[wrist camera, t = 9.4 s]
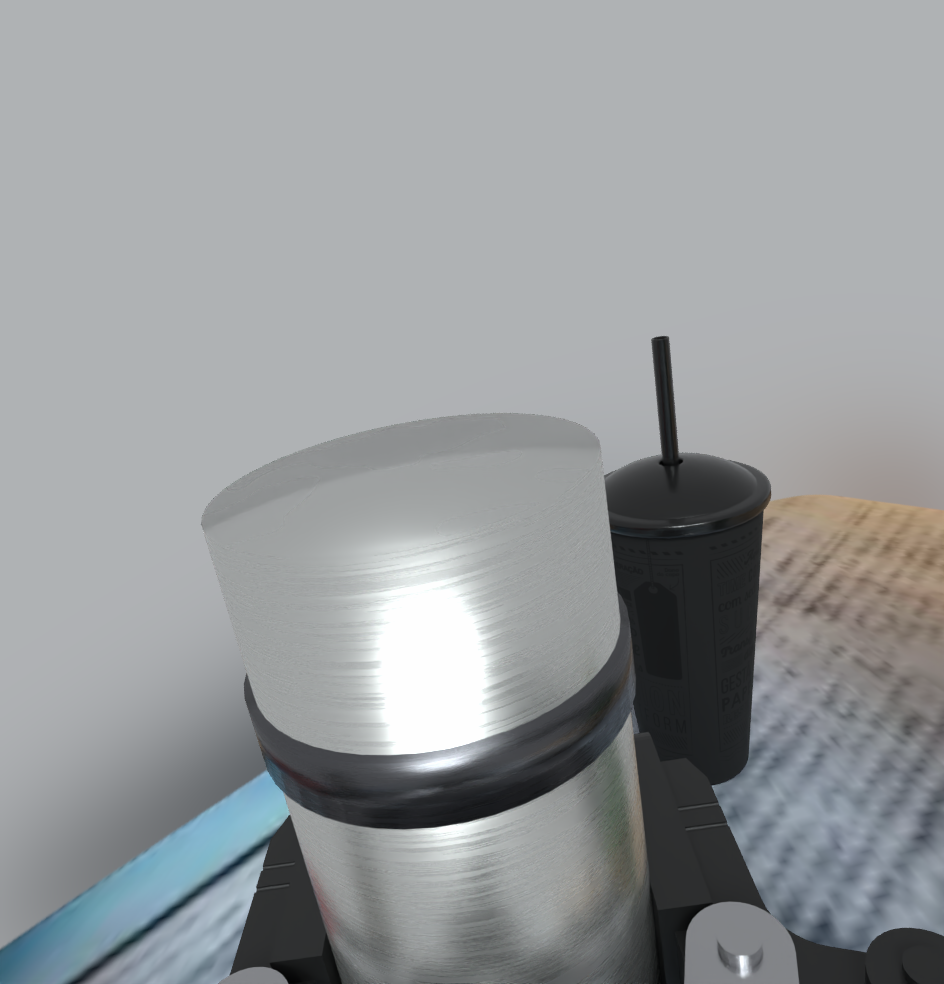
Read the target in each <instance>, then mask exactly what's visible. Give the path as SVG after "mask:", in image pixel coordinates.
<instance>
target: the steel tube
mask: <svg viewBox="0 0 944 984" xmlns="http://www.w3.org/2000/svg"><path fill="white" fill-rule="evenodd" d="M201 525H202V528H203V531H204V535H205V538H206V541H207V545H208V548H209V551H210V554H211V558H212V561H213V564H214V567H215V570H216V574H217V577H218V580H219V583H220V587H221V590H222V593H223V597H224V600H225V603H226V607H227V609H228V613H229V616H230V619H231V623H232V626H233V629H234V633H235V636H236V639H237V642H238V645H239V649H240V652H241V655H242V659H243V662H244V665H245V668H246V672H247V673H246V678H245V682H244V694H245V701H246V703H247V707H248V710H249V713H250V717H251V720H252V723H253V726H254V729H255V732H256V736H257V739H258V742H259V745H260V748H261V752H262V755H263V758H264V761H265V764H266V767H267V771H268V772H269V774H270V776H271V777H272V779H273V780H274V782H275V784H276V785H277V786H278V787H279V788H280V789H281V790H282V791H283V792H284V796H285V799H286V802H287V805H288V809H289V812H290V815H291V818H292V822H293V825H294V828H295V832H296V835H297V838H298V841H299V845H300V848H301V851H302V854H303V858H304V861H305V864H306V867H307V871H308V874H309V877H310V880H311V884H312V887H313V890H314V893H315V897H316V900H317V903H318V907H319V910H320V913H321V916H322V920H323V923H324V926H325V929H326V933H327V936H328V939H329V942H330V946H331V949H332V952H333V955H334V959H335V962H336V965H337V968H338V972H339V975H340V978H341V982H342V984H661V976H660V967H659V959H658V950H657V941H656V933H655V924H654V915H653V906H652V898H651V889H650V880H649V866H648V857H647V848H646V840H645V831H644V822H643V813H642V805H641V796H640V787H639V778H638V770H637V761H636V752H635V743H634V735H633V726H632V717H631V709H632V705H633V701H634V697H635V687H636V677H635V667H634V658H633V649H632V640H631V631H630V622H629V616H628V611H627V607H626V605H625V603H624V601H623V599H622V597H621V595H620V594H619V593H618V591H617V586H616V577H615V569H614V560H613V551H612V542H611V534H610V525H609V516H608V507H607V499H606V490H605V481H604V472H603V464H602V455H601V447H600V443H599V440H598V438H597V437H596V436H595V434H594V433H593V432H591V431H590V430H589V429H587V428H586V427H584V426H582V425H580V424H577V423H574V422H571V421H568V420H565V419H561V418H555V417H550V416H543V415H534V414H518V413H493V414H492V413H491V414H471V415H458V416H450V417H440V418H432V419H426V420H419V421H413V422H407V423H401V424H396V425H391V426H386V427H381V428H377V429H372V430H368V431H364V432H360V433H356V434H352V435H348V436H345V437H341V438H338V439H334V440H331V441H327V442H324V443H321V444H318V445H315V446H312V447H309V448H306V449H303V450H301V451H298V452H295V453H293V454H290V455H288V456H285V457H282V458H280V459H278V460H276V461H273V462H271V463H269V464H266V465H264V466H262V467H260V468H258V469H256V470H254V471H252V472H250V473H249V474H247V475H245V476H243V477H242V478H240V479H238V480H237V481H235V482H234V483H232V484H231V485H230V486H228V487H226V488H225V489H224V490H222V491H221V492H220V493H219V494H218V495H217V496H216V497H215V498H213V500H212V501H211V502H210V503H209V504H208V506H207V507H206V509H205V511H204V513H203V515H202V522H201Z"/></svg>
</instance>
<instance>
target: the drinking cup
mask: <svg viewBox="0 0 944 984" xmlns="http://www.w3.org/2000/svg"><path fill="white" fill-rule="evenodd" d="M651 341H652V352H653V363H654V374H655V384H656V396H657V406H658V417H659V429H660V440H661V451H662V454H661V455H656V456H651V457H647V458H644V459H640V460H637V461H635V462H632V463H630V464H628V465H626V466H624V467H622V468H620V469H618V470H615V471H613V472H611V473H609V474H607V475H604V481H605V490H606V499H607V507H608V516H609V525H610V534H611V542H612V551H613V560H614V569H615V577H616V586H617V591H618V593H619V594H620V595H621V597H622V599H623V601H624V603H625V605H626V607H627V611H628V616H629V622H630V631H631V640H632V649H633V658H634V667H635V677H636V687H635V697H634V701H633V705H634V709H635V714H636V718H637V723H638V727H639V732H640V733H645V732H649V733H650V735H651V738H652V740H653V743H654V746H655V748H656V751H657V754H658V756H659V759H660V762H662V761H669V760H676V759H682V758H686V759H688V760H689V761H690V762H691V763H692V764H693V765H694V766H695V767H696V768H698V769H699V770H700V771H701V772H702V773H703V774H704V775H705V776H707V778H708V780H709V782H710V784H711V785H716V784H720V783H723V782H725V781H728V780H730V779H732V778H733V777H735V776H736V775H737V774H739V773H740V772H741V771H742V769H743V768H744V767H745V765H746V763H747V760H748V754H749V738H750V722H751V706H752V689H753V673H754V657H755V640H756V624H757V608H758V591H759V575H760V559H761V542H762V526H763V510H764V509H765V508H766V507H767V505H768V504H769V501H770V499H771V485H770V482H769V480H768V478H767V477H766V476H765V475H764V474H763V473H762V472H761V471H759V470H757V469H755V468H754V467H751V466H749V465H746V464H743V463H739V462H735V461H731V460H725V459H723V458H719V457H715V456H711V455H706V454H698V453H679V451H678V439H677V427H676V416H675V405H674V404H675V403H674V392H673V380H672V369H671V368H672V367H671V355H670V343H669V337H668V336H660V337H655V338H652V340H651Z"/></svg>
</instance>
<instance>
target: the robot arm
mask: <svg viewBox="0 0 944 984" xmlns="http://www.w3.org/2000/svg"><path fill="white" fill-rule="evenodd" d="M633 735H634V743H635V752H636V761H637V770H638V778H639V787H640V796H641V805H642V813H643V822H644V831H645V840H646V848H647V857H648V866H649V880H650V889H651V898H652V906H653V915H654V924H655V933H656V941H657V950H658V959H659V967H660V976H661V984H944V936H942V935H939V934H937V933H934V932H931V931H927V930H923V929H916V928H899V929H892V930H890V931H887V932H884V933H882V934H881V935H879V936H877V937H876V938H875V939H874V940H873V941H872V943H871V944H870V946H869V948H868V950H867V953H866V952H860V951H854V950H847V949H841V948H835V947H829V946H824V945H820V944H816V943H813V942H811V941H808V940H805V939H803V938H801V937H799V936H797V935H795V934H794V933H792V932H790V931H789V930H787V929H786V928H785V927H784V926H783V925H782V924H781V923H780V922H779V921H778V920H777V919H776V918H775V917H774V916H772V915H771V914H770V912H769V911H768V910H767V908H766V907H765V905H764V903H763V901H762V899H761V897H760V895H759V893H758V890H757V888H756V886H755V884H754V881H753V879H752V877H751V875H750V872H749V870H748V868H747V866H746V863H745V861H744V859H743V856H742V854H741V852H740V850H739V847H738V845H737V843H736V841H735V838H734V836H733V834H732V832H731V829H730V827H729V826H728V825H727V820H726V818H725V816H724V814H723V811H722V809H721V807H720V806H719V804H718V800H717V798H716V796H715V793H714V791H713V789H712V787H711V784H710V782H709V780H708V778H707V776H705V775H704V774H703V773H702V772H701V771H700V770H699V769H698V768H696V767H695V766H694V765H693V764H692V763H691V762H690V761H689V760H688V759H686V758H682V759H676V760H669V761H662V762H660V759H659V756H658V754H657V751H656V748H655V746H654V743H653V740H652V738H651V735H650V733H649V732H645V733H638V734H633ZM256 888H257V892H256V893H254V897H253V900H252V903H251V907H250V910H249V913H248V917H247V920H246V923H245V927H244V930H243V933H242V937H241V940H240V943H239V946H238V950H237V953H236V956H235V960H234V963H233V966H232V970H231V973H230V976H228V977H227V978H225V979H223V980H222V981H221V982H219V983H218V984H342V982H341V978H340V975H339V972H338V968H337V965H336V962H335V959H334V955H333V952H332V949H331V946H330V942H329V939H328V936H327V933H326V929H325V926H324V923H323V920H322V916H321V913H320V910H319V907H318V903H317V900H316V897H315V893H314V890H313V887H312V884H311V880H310V877H309V874H308V871H307V867H306V864H305V861H304V858H303V854H302V851H301V848H300V845H299V841H298V838H297V835H296V832H295V828H294V825H293V822H292V818H291V815H289V816H288V818H287V819H286V820H285V822H284V823H283V824H282V826H281V827H280V828H279V829H278V831H277V832H276V833H275V835H274V836H273V837H272V839H271V840H270V844H269V847H268V850H267V854H266V857H265V860H264V864H263V871H261V874H260V877H259V880H258V884H257V887H256Z"/></svg>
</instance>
